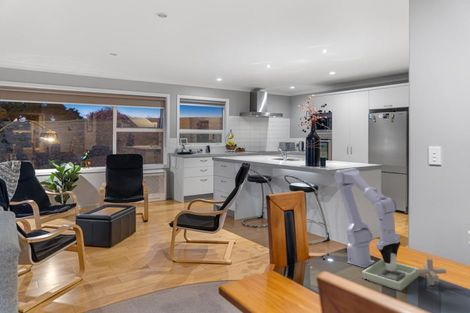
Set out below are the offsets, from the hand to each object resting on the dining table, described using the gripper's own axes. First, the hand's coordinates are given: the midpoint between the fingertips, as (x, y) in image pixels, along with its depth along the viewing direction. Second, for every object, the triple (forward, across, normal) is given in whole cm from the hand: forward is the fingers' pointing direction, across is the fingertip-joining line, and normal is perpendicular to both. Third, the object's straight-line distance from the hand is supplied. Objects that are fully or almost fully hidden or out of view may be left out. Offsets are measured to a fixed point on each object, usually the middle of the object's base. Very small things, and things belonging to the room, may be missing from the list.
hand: (390, 261), depth 131 cm
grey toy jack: (+8, +5, -13) cm, 16 cm away
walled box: (+8, +1, +1) cm, 8 cm away
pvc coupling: (+3, 0, 0) cm, 3 cm away
